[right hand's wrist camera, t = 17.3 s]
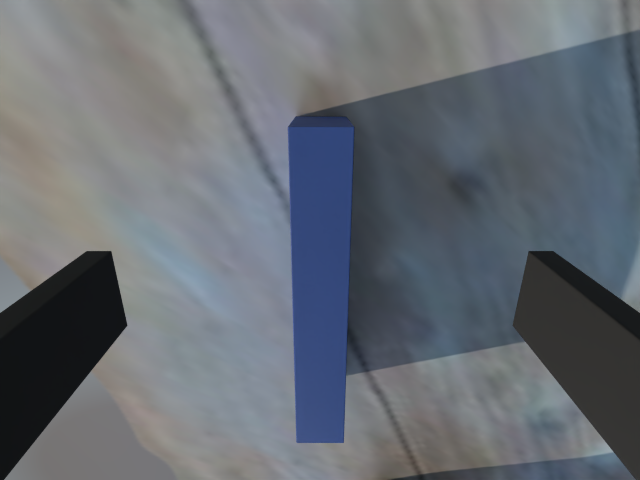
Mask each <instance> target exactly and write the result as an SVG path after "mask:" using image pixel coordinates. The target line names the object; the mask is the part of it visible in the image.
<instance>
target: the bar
mask: <svg viewBox="0 0 640 480" xmlns="http://www.w3.org/2000/svg"><path fill="white" fill-rule="evenodd" d="M288 150H289V186H290V223H291V260H292V296H293V333H294V370H295V407H296V442H297V443H344V418H345V389H346V359H347V330H348V301H349V271H350V242H351V212H352V183H353V154H354V126H353V125H352V124H351V122H350V121H349V120H348V119H347V117H295V118H294V120H293V121H292V122H291V124H290V125H289V126H288Z"/></svg>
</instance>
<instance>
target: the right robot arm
mask: <svg viewBox="0 0 640 480" xmlns="http://www.w3.org/2000/svg"><path fill="white" fill-rule="evenodd" d="M126 327H127V322H126V317H125V312H124V308H123V303H122V299H121V294H120V289H119V285H118V280H117V276H116V271H115V266H114V262H113V257H112V252H111V251H86V252H85V253H84V254H82V255H81V256H79V257H78V258H77V259H75V260H74V261H72V262H71V263H70V264H68V265H67V266H65V267H64V268H63V269H61V270H60V271H58V272H57V273H56V274H54V275H53V276H51V277H50V278H49V279H47V280H46V281H44V282H43V283H42V284H40V285H39V286H37V287H36V288H35V289H33V290H32V291H30V292H29V293H28V294H26V295H25V296H23V297H22V298H21V299H19V300H18V301H16V302H15V303H14V304H12V305H11V306H9V307H8V308H7V309H5V310H4V311H2V312H1V313H0V480H4V479H5V478H6V477H7V475H8V474H9V473H10V472H11V470H12V469H13V468H14V467H15V465H16V464H17V463H18V462H19V460H20V459H21V458H22V456H23V455H24V454H25V453H26V452H27V450H28V449H29V448H30V446H31V445H32V444H33V443H34V442H35V440H36V439H37V438H38V437H39V435H40V434H41V433H42V432H43V430H44V429H45V428H46V427H47V425H48V424H49V423H50V422H51V420H52V419H53V418H54V417H55V415H56V414H57V413H58V412H59V410H60V409H61V408H62V407H63V405H64V404H65V403H66V402H67V400H68V399H69V398H70V397H71V395H72V394H73V393H74V391H75V390H76V389H77V388H78V387H79V385H80V384H81V383H82V382H83V380H84V379H85V378H86V377H87V375H88V374H89V373H90V372H91V370H92V369H93V368H94V367H95V365H96V364H97V363H98V362H99V360H100V359H101V358H102V357H103V355H104V354H105V353H106V352H107V350H108V349H109V348H110V347H111V345H112V344H113V343H114V342H115V340H116V339H117V338H118V337H119V335H120V334H121V333H122V332H123V330H124V329H125V328H126ZM513 327H514V328H515V329H516V330H517V332H518V333H519V334H520V335H521V337H522V338H523V339H524V340H525V342H526V343H527V344H528V345H529V347H530V348H531V349H532V350H533V352H534V353H535V354H536V355H537V357H538V358H539V359H540V360H541V362H542V363H543V364H544V365H545V367H546V368H547V369H548V370H549V372H550V373H551V374H552V375H553V377H554V378H555V379H556V380H557V382H558V383H559V384H560V385H561V387H562V388H563V389H564V390H565V392H566V393H567V394H568V395H569V397H570V398H571V399H572V400H573V402H574V403H575V404H576V405H577V407H578V408H579V409H580V410H581V412H582V413H583V414H584V415H585V417H586V418H587V419H588V420H589V422H590V423H591V424H592V425H593V427H594V428H595V429H596V430H597V432H598V433H599V434H600V435H601V437H602V438H603V439H604V440H605V442H606V443H607V444H608V445H609V447H610V448H611V449H612V450H613V452H614V453H615V454H616V455H617V457H618V458H619V459H620V460H621V462H622V463H623V464H624V465H625V467H626V468H627V469H628V470H629V472H630V473H631V474H632V475H633V477H634V478H635V479H636V480H640V313H639V312H638V311H636V310H635V309H633V308H632V307H631V306H629V305H628V304H626V303H625V302H624V301H622V300H621V299H619V298H618V297H617V296H615V295H614V294H612V293H611V292H610V291H608V290H607V289H605V288H604V287H603V286H601V285H600V284H598V283H597V282H596V281H594V280H593V279H591V278H590V277H589V276H587V275H586V274H584V273H583V272H582V271H580V270H579V269H577V268H576V267H575V266H573V265H572V264H570V263H569V262H568V261H566V260H565V259H563V258H562V257H561V256H559V255H558V254H556V253H555V252H554V251H529V252H528V257H527V262H526V266H525V271H524V276H523V280H522V285H521V289H520V294H519V299H518V303H517V308H516V312H515V317H514V322H513Z"/></svg>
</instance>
